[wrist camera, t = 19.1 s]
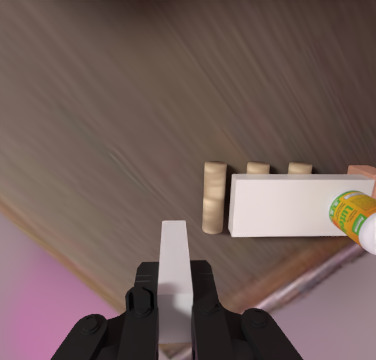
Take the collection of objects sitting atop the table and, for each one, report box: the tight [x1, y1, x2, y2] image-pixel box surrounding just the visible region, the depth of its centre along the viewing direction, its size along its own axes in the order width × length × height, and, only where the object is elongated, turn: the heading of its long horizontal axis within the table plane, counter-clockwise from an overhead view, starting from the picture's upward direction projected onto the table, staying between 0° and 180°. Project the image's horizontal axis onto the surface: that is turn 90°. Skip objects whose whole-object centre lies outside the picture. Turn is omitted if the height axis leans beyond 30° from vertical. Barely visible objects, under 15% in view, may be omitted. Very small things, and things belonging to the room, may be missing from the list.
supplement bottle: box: [328, 190, 376, 255], centre depth 30 cm, size 5×5×10 cm
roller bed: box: [202, 161, 312, 234], centre depth 38 cm, size 15×10×3 cm, turn 89°
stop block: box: [347, 165, 376, 199], centre depth 38 cm, size 3×9×5 cm, turn 179°
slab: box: [228, 174, 375, 237], centre depth 36 cm, size 18×8×2 cm, turn 89°
